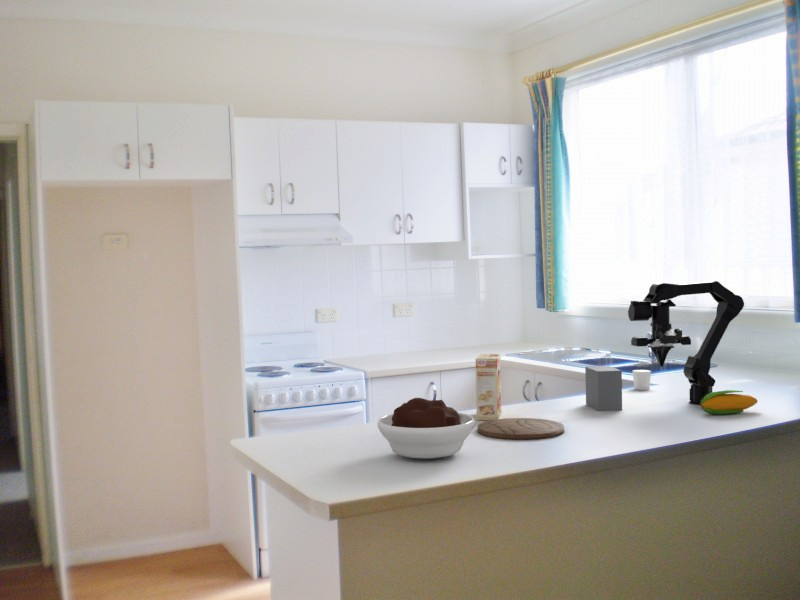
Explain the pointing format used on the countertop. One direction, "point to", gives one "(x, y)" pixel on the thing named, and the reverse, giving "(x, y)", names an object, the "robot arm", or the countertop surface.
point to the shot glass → (641, 379)
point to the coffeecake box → (488, 386)
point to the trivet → (521, 429)
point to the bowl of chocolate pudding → (426, 429)
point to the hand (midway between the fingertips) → (661, 366)
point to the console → (604, 388)
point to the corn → (726, 402)
